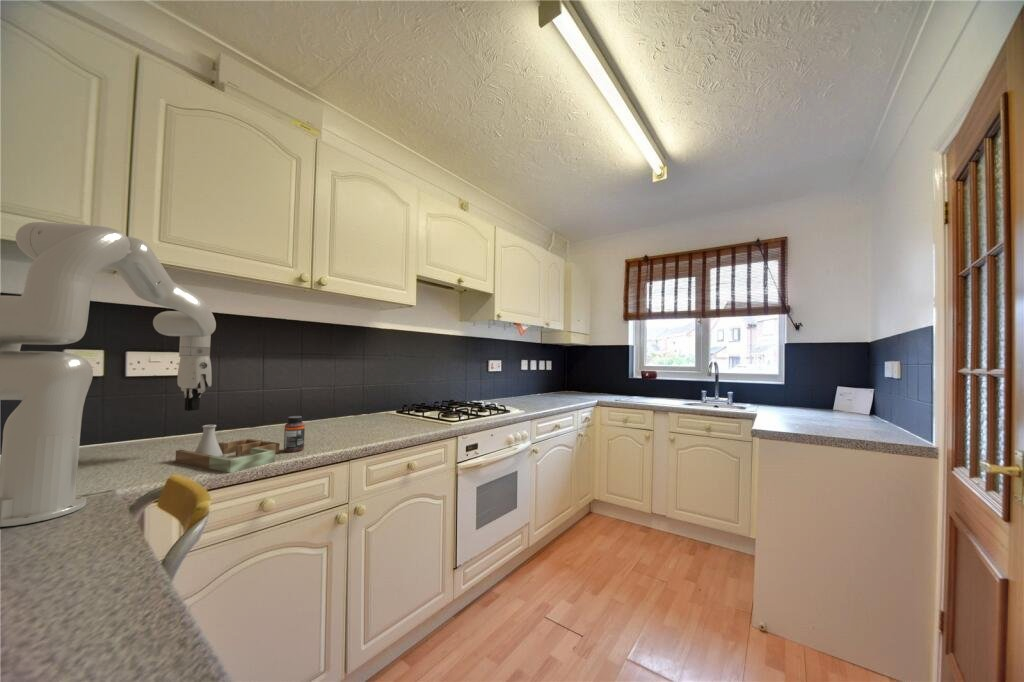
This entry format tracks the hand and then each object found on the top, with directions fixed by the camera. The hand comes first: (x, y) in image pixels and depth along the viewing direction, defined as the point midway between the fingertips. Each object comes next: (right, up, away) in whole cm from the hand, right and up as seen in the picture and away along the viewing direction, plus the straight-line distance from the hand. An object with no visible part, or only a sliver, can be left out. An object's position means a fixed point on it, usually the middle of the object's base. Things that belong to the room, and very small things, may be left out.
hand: (191, 410), depth 118 cm
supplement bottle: (+29, -15, +6) cm, 33 cm away
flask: (+9, -14, -5) cm, 18 cm away
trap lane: (+18, -14, -5) cm, 24 cm away
